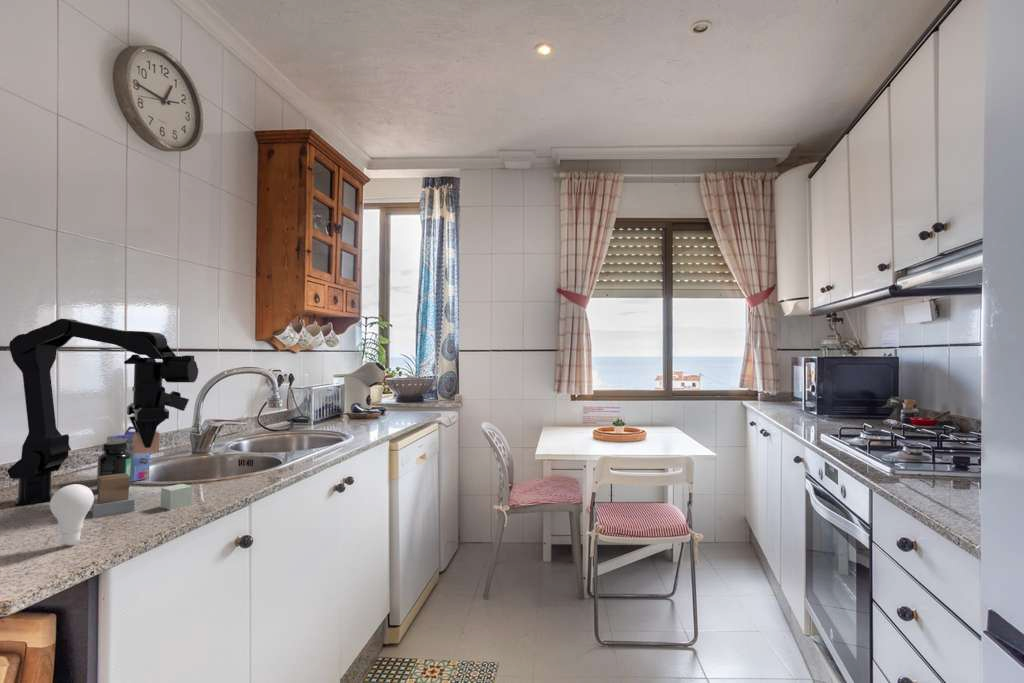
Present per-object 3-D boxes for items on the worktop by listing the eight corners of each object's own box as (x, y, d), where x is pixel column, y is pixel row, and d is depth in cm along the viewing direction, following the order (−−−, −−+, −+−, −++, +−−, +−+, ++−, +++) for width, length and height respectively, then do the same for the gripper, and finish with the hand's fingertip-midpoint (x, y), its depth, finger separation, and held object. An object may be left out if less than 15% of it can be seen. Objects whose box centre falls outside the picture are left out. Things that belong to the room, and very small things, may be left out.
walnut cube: (97, 498, 114) (98, 476, 114) (125, 495, 117) (126, 473, 117) (99, 503, 110) (100, 480, 110) (128, 499, 114) (129, 477, 114)
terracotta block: (133, 451, 125) (134, 432, 125) (155, 449, 128) (156, 431, 128) (136, 453, 122) (137, 434, 122) (158, 451, 125) (159, 433, 125)
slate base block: (91, 512, 114) (91, 498, 114) (130, 506, 119) (130, 493, 119) (93, 519, 109) (94, 505, 109) (134, 513, 113) (134, 499, 114)
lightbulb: (66, 539, 96) (68, 480, 96) (100, 539, 96) (102, 480, 97) (38, 552, 90) (41, 489, 90) (75, 551, 90) (77, 488, 90)
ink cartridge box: (151, 478, 144) (152, 426, 145) (132, 482, 139) (134, 429, 139) (122, 476, 146) (123, 425, 147) (103, 480, 141) (105, 428, 141)
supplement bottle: (136, 487, 134) (137, 441, 134) (106, 494, 127) (108, 445, 128) (120, 484, 136) (121, 439, 137) (90, 490, 130) (92, 443, 131)
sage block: (160, 507, 117) (161, 487, 117) (181, 502, 121) (182, 483, 121) (170, 510, 114) (170, 490, 115) (191, 505, 118) (192, 486, 118)
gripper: (194, 383, 124) (192, 447, 124) (178, 380, 138) (177, 438, 137) (138, 384, 117) (136, 453, 116) (127, 381, 130) (125, 442, 130)
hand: (146, 446), depth 125 cm, fingers closed on terracotta block, 4 cm apart
